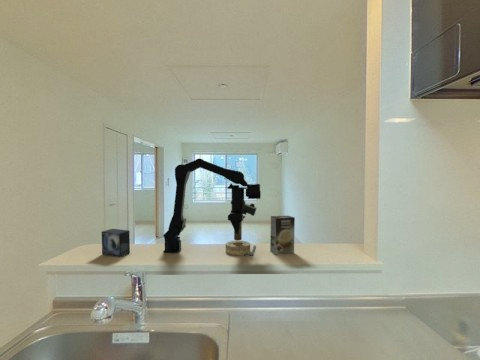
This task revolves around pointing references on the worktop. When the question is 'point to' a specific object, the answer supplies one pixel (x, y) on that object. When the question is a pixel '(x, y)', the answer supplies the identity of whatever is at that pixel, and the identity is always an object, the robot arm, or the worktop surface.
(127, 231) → the small box
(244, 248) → the bead
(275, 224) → the coffee box
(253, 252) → the gray l-shaped bar
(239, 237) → the brown cylinder
